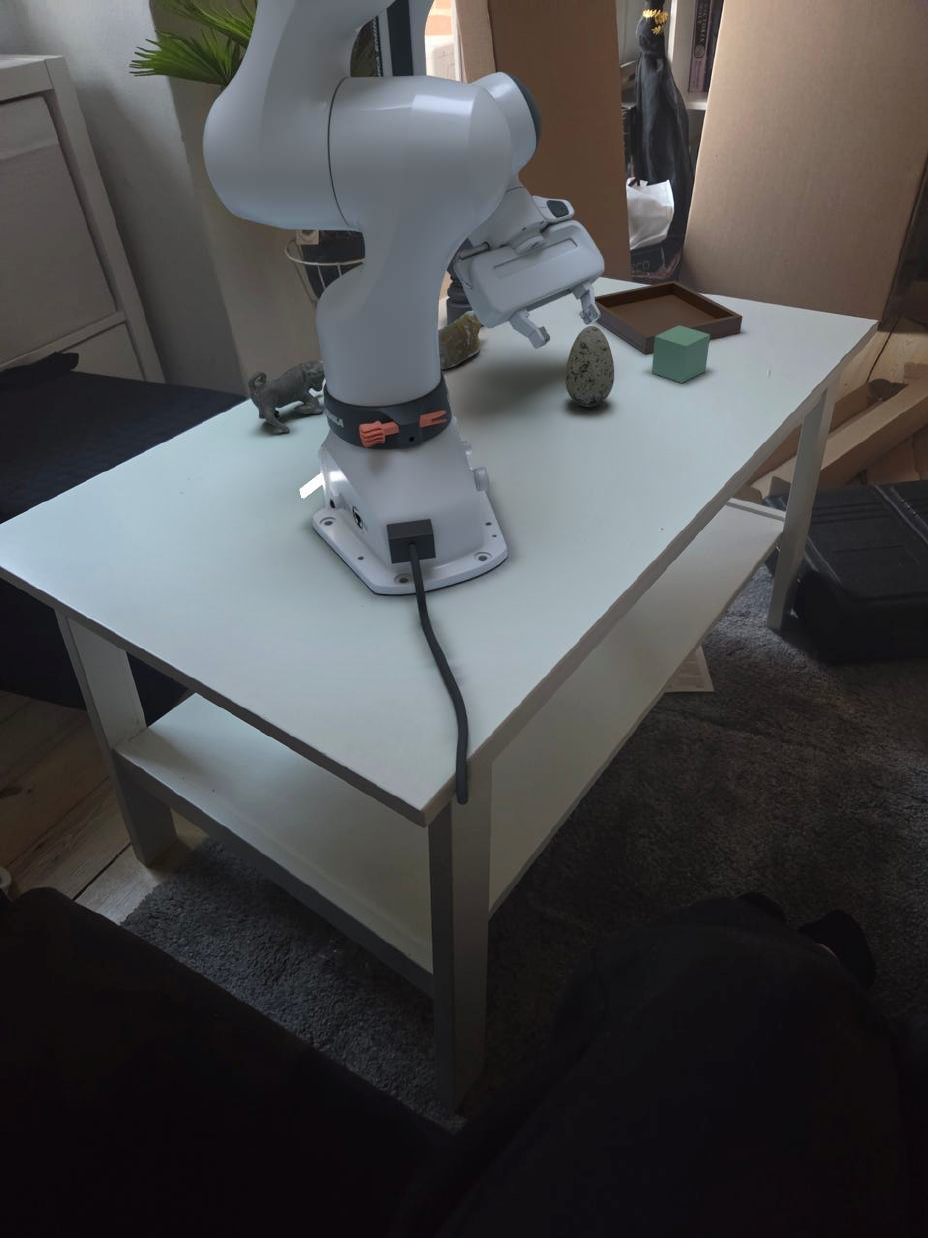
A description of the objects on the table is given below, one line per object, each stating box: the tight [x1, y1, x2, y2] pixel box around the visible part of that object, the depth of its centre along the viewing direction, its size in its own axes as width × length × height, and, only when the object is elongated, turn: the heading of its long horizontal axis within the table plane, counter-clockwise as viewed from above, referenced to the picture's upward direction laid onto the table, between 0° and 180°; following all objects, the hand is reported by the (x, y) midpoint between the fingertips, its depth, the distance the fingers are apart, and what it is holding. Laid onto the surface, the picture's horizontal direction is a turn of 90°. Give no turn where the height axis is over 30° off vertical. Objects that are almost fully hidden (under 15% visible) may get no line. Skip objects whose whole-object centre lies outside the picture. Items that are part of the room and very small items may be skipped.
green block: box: [651, 325, 711, 384], centre depth 110 cm, size 5×5×5 cm
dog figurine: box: [247, 360, 325, 433], centre depth 106 cm, size 12×6×7 cm, turn 138°
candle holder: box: [445, 237, 485, 327], centre depth 122 cm, size 6×6×25 cm
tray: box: [595, 280, 743, 355], centre depth 124 cm, size 18×16×2 cm
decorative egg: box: [564, 325, 615, 408], centre depth 103 cm, size 6×6×10 cm
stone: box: [438, 310, 482, 370], centre depth 118 cm, size 7×6×15 cm
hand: (569, 332), depth 102 cm, fingers open, 8 cm apart
